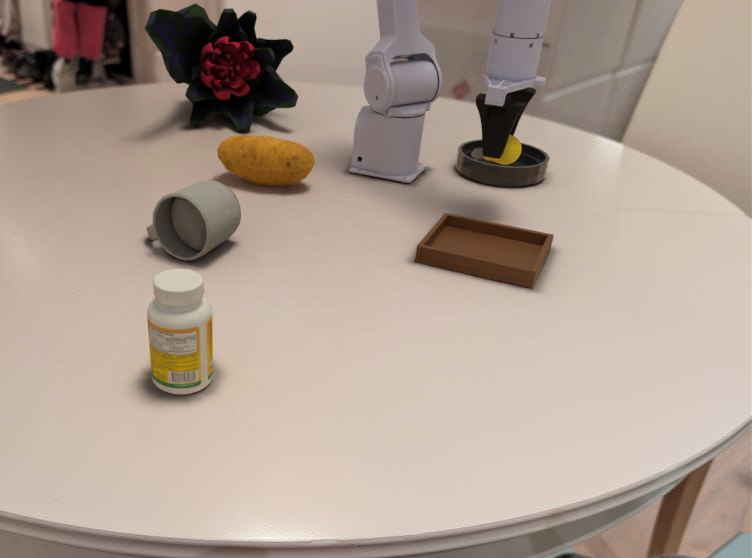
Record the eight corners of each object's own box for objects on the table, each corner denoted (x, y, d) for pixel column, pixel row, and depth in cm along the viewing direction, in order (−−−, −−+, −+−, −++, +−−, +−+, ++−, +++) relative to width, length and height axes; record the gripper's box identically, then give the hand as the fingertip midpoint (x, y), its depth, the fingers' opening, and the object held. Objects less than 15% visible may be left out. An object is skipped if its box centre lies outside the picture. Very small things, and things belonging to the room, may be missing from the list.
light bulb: (521, 168, 90) (517, 143, 88) (472, 174, 93) (467, 149, 91) (524, 152, 92) (521, 127, 90) (476, 158, 95) (471, 134, 93)
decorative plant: (261, 156, 143) (279, 166, 114) (133, 98, 137) (119, 94, 109) (305, 50, 137) (336, 33, 109) (174, -15, 132) (170, -50, 103)
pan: (444, 177, 108) (447, 157, 107) (467, 153, 118) (471, 134, 116) (535, 194, 103) (540, 173, 102) (551, 167, 113) (556, 148, 111)
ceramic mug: (246, 241, 88) (245, 178, 84) (209, 268, 82) (206, 201, 78) (172, 224, 92) (167, 163, 88) (132, 248, 86) (125, 184, 82)
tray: (414, 261, 85) (416, 245, 84) (442, 227, 93) (444, 212, 92) (531, 288, 80) (535, 272, 79) (550, 250, 88) (554, 234, 87)
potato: (298, 200, 99) (301, 150, 96) (209, 183, 104) (208, 134, 100) (320, 182, 105) (323, 135, 101) (235, 166, 110) (234, 120, 106)
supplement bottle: (182, 404, 61) (176, 303, 56) (138, 379, 64) (129, 280, 59) (226, 376, 65) (225, 278, 59) (183, 354, 68) (178, 258, 62)
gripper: (543, 48, 77) (516, 175, 85) (564, 28, 88) (539, 141, 96) (475, 41, 80) (455, 164, 87) (504, 22, 91) (484, 133, 98)
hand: (495, 152), depth 92 cm, fingers closed on light bulb, 3 cm apart
